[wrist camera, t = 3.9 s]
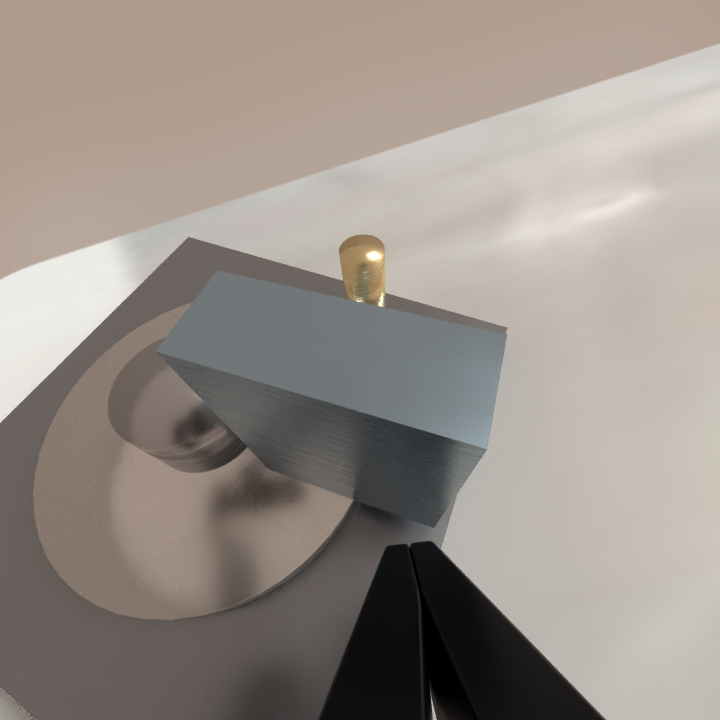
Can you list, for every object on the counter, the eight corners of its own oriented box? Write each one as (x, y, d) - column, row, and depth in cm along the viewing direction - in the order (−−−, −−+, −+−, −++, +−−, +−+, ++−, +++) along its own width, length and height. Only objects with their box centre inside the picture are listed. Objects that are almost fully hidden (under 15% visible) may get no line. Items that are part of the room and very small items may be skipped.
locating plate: (326, 910, 9) (243, 1324, 4) (-93, 565, 14) (-369, 549, 9) (498, 347, 17) (543, 245, 12) (199, 257, 22) (144, 159, 17)
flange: (-20, 534, 13) (-491, 464, 6) (180, 287, 18) (60, 110, 12) (383, 739, 9) (367, 1139, 2) (470, 356, 15) (536, 165, 8)
